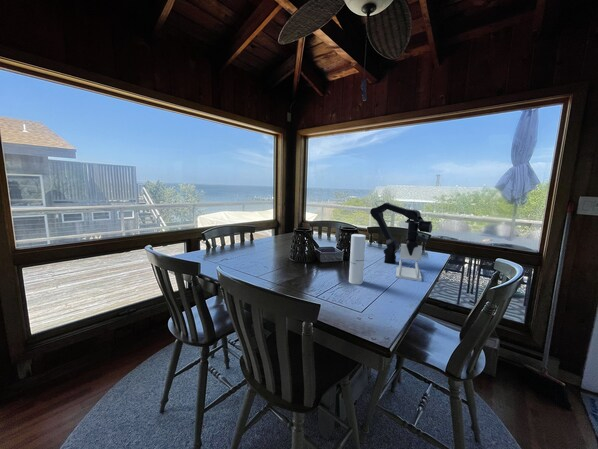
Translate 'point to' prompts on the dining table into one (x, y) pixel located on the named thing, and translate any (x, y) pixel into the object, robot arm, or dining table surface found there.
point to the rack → (408, 272)
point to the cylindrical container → (357, 258)
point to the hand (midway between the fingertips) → (410, 254)
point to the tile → (415, 255)
